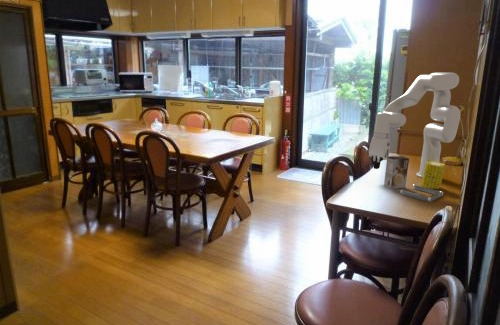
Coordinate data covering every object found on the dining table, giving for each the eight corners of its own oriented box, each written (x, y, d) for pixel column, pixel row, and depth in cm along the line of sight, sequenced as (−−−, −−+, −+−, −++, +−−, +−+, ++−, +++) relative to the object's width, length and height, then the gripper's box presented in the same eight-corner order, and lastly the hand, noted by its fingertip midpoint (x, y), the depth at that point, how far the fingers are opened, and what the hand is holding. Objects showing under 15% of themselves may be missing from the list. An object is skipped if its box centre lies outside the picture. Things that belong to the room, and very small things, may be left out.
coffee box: (397, 184, 202) (401, 155, 198) (405, 187, 196) (409, 158, 192) (383, 185, 199) (387, 156, 195) (390, 188, 193) (394, 159, 189)
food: (431, 187, 204) (442, 193, 195) (412, 182, 202) (423, 189, 192) (442, 161, 200) (454, 167, 191) (423, 156, 198) (434, 162, 188)
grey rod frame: (413, 188, 196) (414, 184, 195) (443, 195, 185) (443, 191, 184) (399, 193, 186) (400, 189, 185) (429, 202, 175) (430, 198, 174)
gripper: (397, 137, 196) (392, 170, 201) (372, 133, 207) (367, 164, 211) (390, 138, 191) (385, 172, 196) (364, 133, 202) (360, 166, 206)
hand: (376, 168), depth 203 cm, fingers closed
